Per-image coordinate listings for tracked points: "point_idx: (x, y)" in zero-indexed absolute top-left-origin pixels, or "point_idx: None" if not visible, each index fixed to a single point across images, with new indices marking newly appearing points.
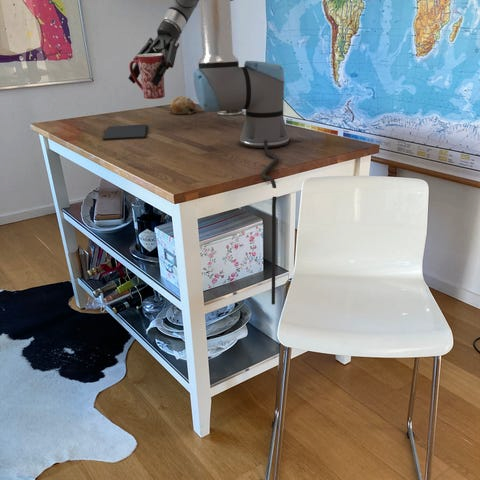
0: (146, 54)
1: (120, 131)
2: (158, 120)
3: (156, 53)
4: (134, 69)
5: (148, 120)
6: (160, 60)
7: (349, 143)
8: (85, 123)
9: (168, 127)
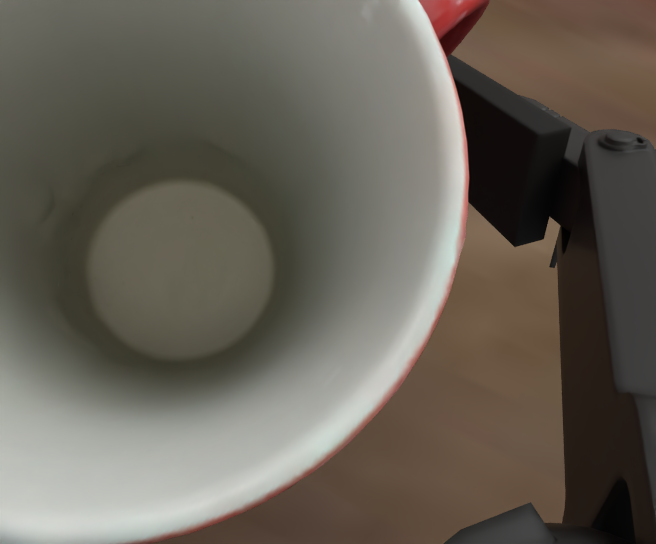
0: (433, 204)
1: None
2: (433, 408)
3: (305, 453)
4: (462, 87)
5: (473, 355)
6: None
7: None
8: (607, 34)
9: None
